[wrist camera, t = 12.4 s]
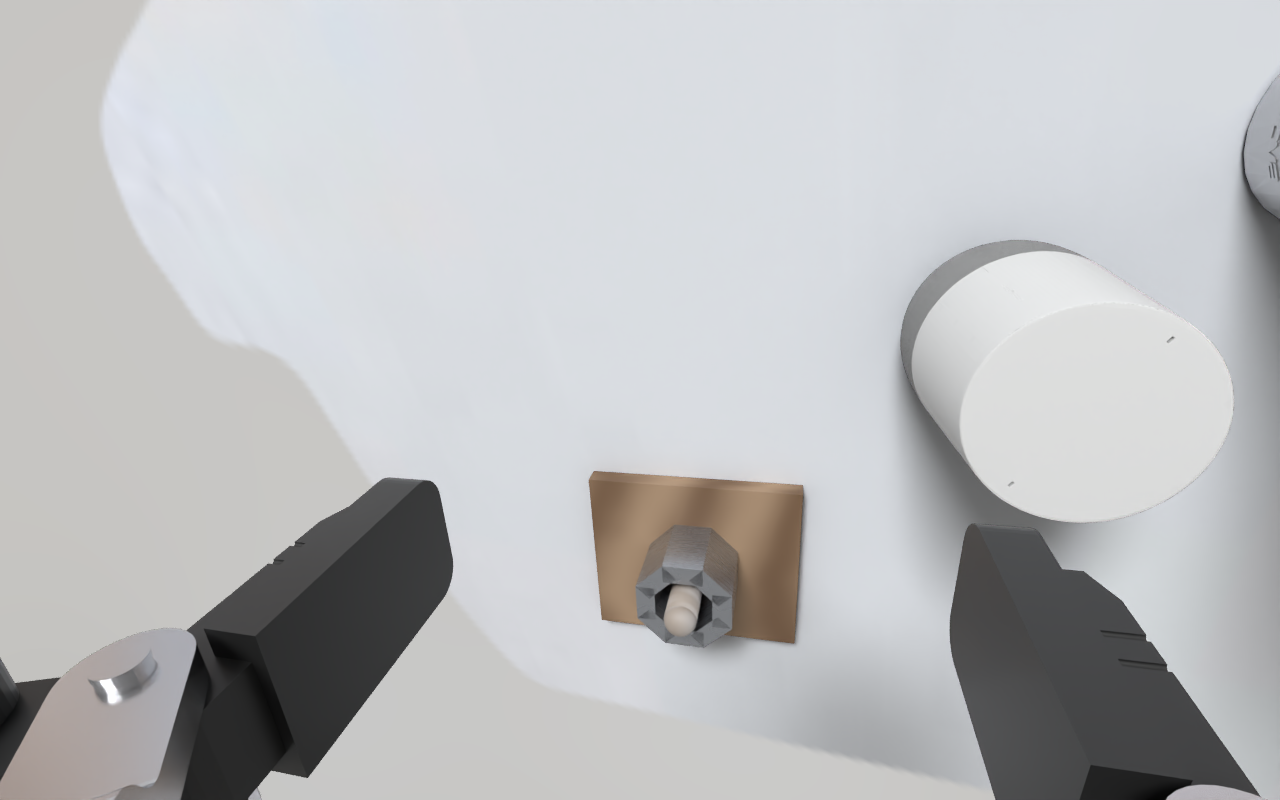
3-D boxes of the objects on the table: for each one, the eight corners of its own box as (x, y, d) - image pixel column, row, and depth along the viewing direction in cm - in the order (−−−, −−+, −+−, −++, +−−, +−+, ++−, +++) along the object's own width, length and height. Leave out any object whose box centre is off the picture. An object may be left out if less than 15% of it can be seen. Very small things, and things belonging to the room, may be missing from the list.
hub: (738, 529, 41) (732, 573, 37) (737, 602, 43) (731, 651, 39) (648, 522, 42) (633, 563, 38) (652, 593, 44) (638, 639, 40)
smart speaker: (978, 195, 31) (1102, 234, 19) (1127, 294, 32) (1348, 399, 19) (856, 342, 36) (891, 455, 23) (989, 429, 36) (1095, 588, 23)
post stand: (802, 485, 40) (804, 558, 33) (794, 631, 44) (794, 722, 37) (593, 471, 43) (555, 535, 36) (606, 608, 47) (574, 689, 41)
